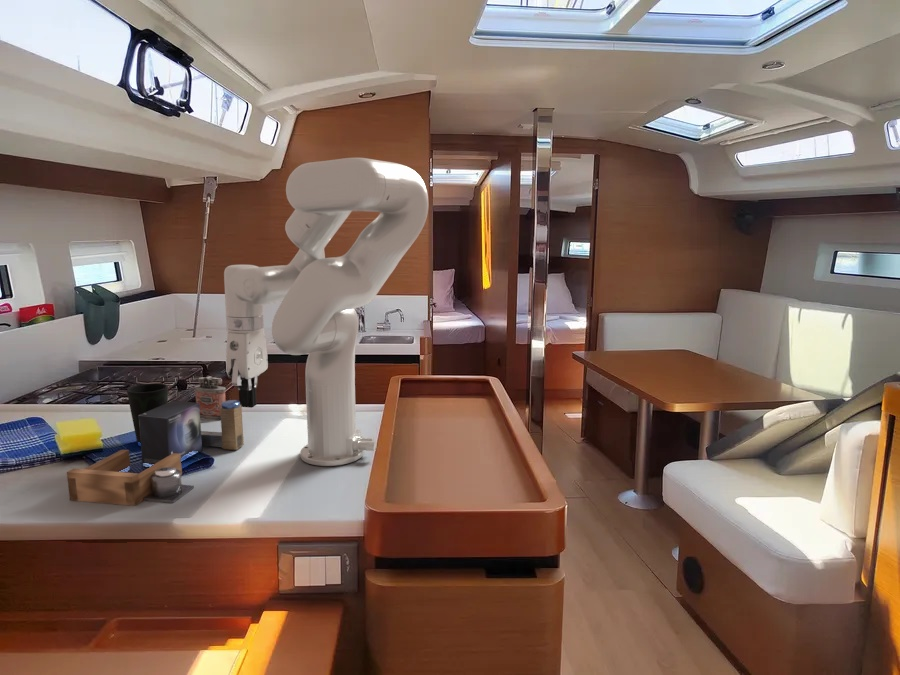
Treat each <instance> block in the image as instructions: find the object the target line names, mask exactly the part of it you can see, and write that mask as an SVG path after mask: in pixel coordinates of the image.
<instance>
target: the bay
mask: <svg viewBox="0 0 900 675" xmlns="http://www.w3.org/2000/svg"><path fill="white" fill-rule="evenodd" d="M128 466H131V457H130V450H129V449H120V450H118V451H116V452H114V453H113V454H111V455H109V456H107V457H104V458H103V459H101V460H98V461H97V462H95V463H93V464H91V465H89V466H87V467H85V468H71V469H70V470H68V471H66V478H67V486H68V494H69V495H68V496H69V501H74V502H84V503H85V502H86V503H96V504H97V503H99V504H107V505H110V504H111V505H120V506H122V505H123V506H131V507H132V506H133V507H135V506H137V505H138V504H140V503H141V502H143V498H144V497H145V496H147V495H148V494H150V493H151V492H152V483H151V475H152V474H153V473H155V472H156V471H157V470H158V469H161V468H165V467H174V468H176V469H178V470H180V471H181V476H182V475H183V468H182V463H181V454H177V453H173V454H171V455H169V456H167V457H166V458H164V459H162V460H161V461H159V462H157V463H156V464H154V465H152V466H151V467H149V468H147V467H146V469H144V470H142V471H141V472H139V473H137V472H135V473H134V472H127V473H126V472H119V471H121V470H123V469H125V468H127V467H128Z"/></svg>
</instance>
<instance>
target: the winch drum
mask: <svg viewBox="0 0 900 675" xmlns="http://www.w3.org/2000/svg"><path fill="white" fill-rule="evenodd" d="M151 483H152V492H151V493H150V494H148V495H147V496H145V497H144V498H143V501H144V502H145V501H146V502H147V501H148V502H155V503H156V502H157V503H158V502H159V503H167V504H168V503H170V504H174V503H175V502H176V501H178V500H179V499H180V498H182V497H183V496H186V494H188V493H189V492H190V491H191V490H193V489H194V488H195V487H194V485H191V484H190V485H188V484H182V475H181V471H180V470H178V469H176V468H174V467H165V468H161V469H158V470H157V471H156V472H155V473H153V474H152V475H151ZM143 501H142V502H143Z"/></svg>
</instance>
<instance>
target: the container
mask: <svg viewBox="0 0 900 675" xmlns="http://www.w3.org/2000/svg"><path fill="white" fill-rule="evenodd" d="M242 411H243V407H241V405H240V401H239V399H238V400H237V399H229V400H226V401H224V402H222V403H221V408H220V414H221V420H220V427H221V428H220V429H221V431H209V430H207V431H205V430H201V438H202V447H215V448H216V447H217V448H218V447H219V448H222V449H223V450H230V451H231V450H233V451H235V450H239V449H240V448H241V447H242V446H244V445H245V442H244V428H243V412H242Z"/></svg>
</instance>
